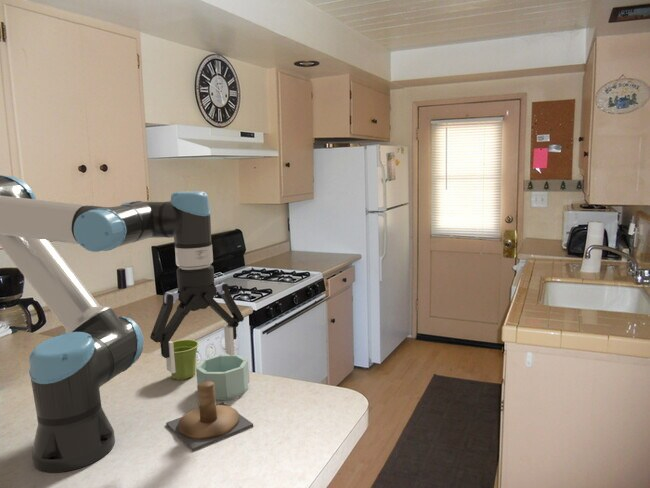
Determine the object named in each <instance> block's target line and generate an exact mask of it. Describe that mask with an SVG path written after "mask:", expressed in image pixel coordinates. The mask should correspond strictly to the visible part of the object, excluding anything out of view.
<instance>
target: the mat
mask: <svg viewBox="0 0 650 488" xmlns="http://www.w3.org/2000/svg"><path fill="white" fill-rule="evenodd" d="M216 405H224V406H229V405H228V404H226V403H225V402H223V401H221V402H219V403H216ZM238 414H239V423H238V425H237V426H236V427H235V428H234V429H233V430H231V431H230V432H228V433H226V434H224V435H221V436H219V437H215V438H210V439H190V438H187V437H184V436H183V435H181V434H180V432H179V429H178V422H179V420H180V419H181V418H182V417H183V416H180V417H178V418H176V419H173V420H169V421H167V422H165V425H166V427H168V428H169V430H170V431H172V432H173V433H174V434H175V435H176V436H177V437H178V438H179V439H180V440H181V442H183V443H184V445H186V446H187V447H188V448H189V449H190V450H191V451H192V452H195V451H197V450H199V449H202V448H204V447H207V446H210V445H212V444H215V443H216V442H219V441H221V440H224V439H225V438H229V437H231V436H234V435H236V434H239V433H241V432H243V431H247V430H248V429H251V428H253V427H254V423H253V422H251V421H250V420H248V419H247V418H246V417H244V416H243V415H241V414H240V413H239V412H238Z"/></svg>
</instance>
